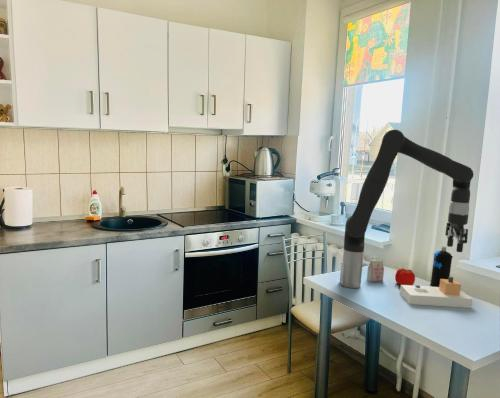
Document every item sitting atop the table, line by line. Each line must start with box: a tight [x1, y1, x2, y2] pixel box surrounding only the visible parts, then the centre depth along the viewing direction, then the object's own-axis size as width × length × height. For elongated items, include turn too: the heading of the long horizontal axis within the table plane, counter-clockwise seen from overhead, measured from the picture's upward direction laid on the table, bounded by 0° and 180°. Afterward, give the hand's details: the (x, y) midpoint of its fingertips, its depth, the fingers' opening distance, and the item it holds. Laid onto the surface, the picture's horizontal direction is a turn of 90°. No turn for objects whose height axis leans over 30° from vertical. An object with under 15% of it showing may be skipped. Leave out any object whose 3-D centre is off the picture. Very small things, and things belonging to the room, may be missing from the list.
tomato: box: [394, 267, 416, 286], centre depth 190 cm, size 9×9×8 cm
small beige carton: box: [366, 259, 385, 283], centre depth 194 cm, size 4×7×10 cm, turn 107°
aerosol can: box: [429, 245, 453, 287], centre depth 189 cm, size 8×8×20 cm
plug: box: [439, 276, 462, 295], centre depth 172 cm, size 6×6×9 cm
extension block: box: [399, 284, 473, 309], centre depth 173 cm, size 26×12×5 cm, turn 88°
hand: (454, 249), depth 169 cm, fingers open, 8 cm apart
